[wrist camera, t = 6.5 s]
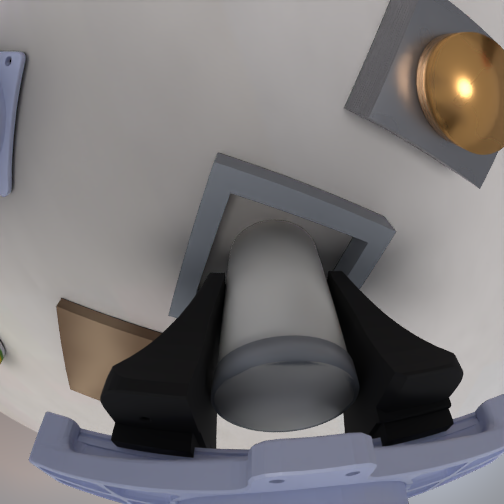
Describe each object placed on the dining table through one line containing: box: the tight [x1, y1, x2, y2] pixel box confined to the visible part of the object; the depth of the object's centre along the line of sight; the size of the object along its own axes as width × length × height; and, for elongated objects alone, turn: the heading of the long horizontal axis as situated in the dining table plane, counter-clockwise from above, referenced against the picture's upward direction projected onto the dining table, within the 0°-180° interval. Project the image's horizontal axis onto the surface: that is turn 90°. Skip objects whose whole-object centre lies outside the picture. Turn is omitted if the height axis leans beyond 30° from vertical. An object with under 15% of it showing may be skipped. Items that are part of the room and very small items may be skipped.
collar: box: [169, 153, 396, 318], centre depth 15 cm, size 8×8×2 cm
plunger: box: [417, 32, 504, 155], centre depth 8 cm, size 4×4×3 cm
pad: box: [56, 298, 162, 400], centre depth 21 cm, size 11×11×1 cm
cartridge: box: [211, 220, 359, 432], centre depth 12 cm, size 5×5×8 cm
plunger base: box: [345, 0, 498, 189], centre depth 9 cm, size 6×6×3 cm
